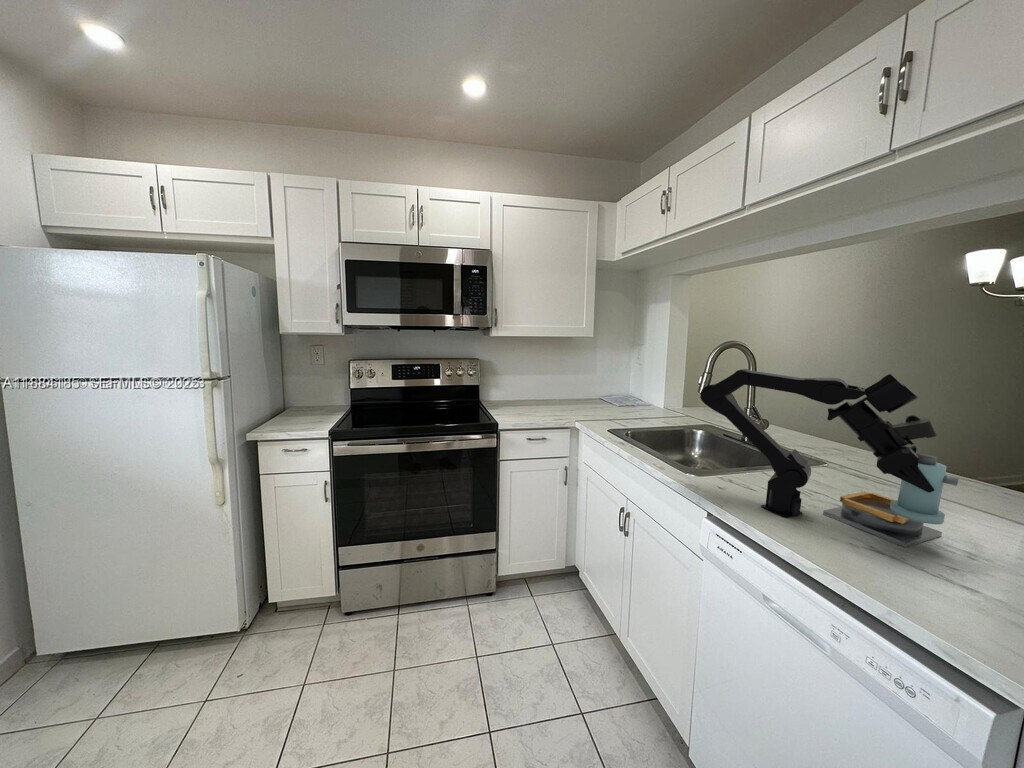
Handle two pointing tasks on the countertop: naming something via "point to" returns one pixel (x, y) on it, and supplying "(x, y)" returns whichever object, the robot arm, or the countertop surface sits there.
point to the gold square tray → (880, 519)
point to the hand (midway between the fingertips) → (930, 487)
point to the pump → (923, 493)
